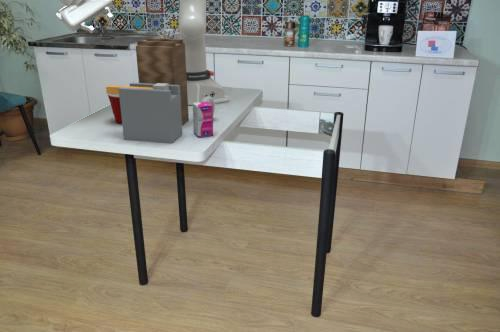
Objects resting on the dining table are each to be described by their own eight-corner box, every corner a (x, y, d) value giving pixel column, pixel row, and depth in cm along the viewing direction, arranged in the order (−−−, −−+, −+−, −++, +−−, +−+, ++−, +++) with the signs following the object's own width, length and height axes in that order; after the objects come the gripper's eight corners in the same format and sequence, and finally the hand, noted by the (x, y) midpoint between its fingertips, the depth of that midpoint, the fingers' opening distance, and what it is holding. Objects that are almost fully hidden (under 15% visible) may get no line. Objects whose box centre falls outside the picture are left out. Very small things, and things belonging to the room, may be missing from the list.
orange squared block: (105, 94, 166) (104, 82, 164) (111, 91, 169) (110, 80, 168) (164, 97, 161) (163, 86, 159) (169, 95, 164) (168, 83, 163)
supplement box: (198, 138, 168) (196, 106, 164) (193, 133, 173) (191, 102, 169) (213, 136, 170) (212, 104, 166) (208, 131, 176) (207, 100, 171)
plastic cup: (131, 126, 181) (128, 95, 177) (105, 125, 183) (101, 94, 178) (142, 118, 191) (139, 88, 187) (116, 117, 193) (113, 87, 188)
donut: (206, 125, 182) (205, 99, 178) (198, 124, 183) (196, 99, 179) (216, 118, 191) (215, 94, 187) (208, 117, 192) (207, 93, 188)
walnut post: (142, 126, 181) (135, 41, 169) (155, 118, 191) (149, 37, 179) (177, 129, 177) (172, 43, 166) (188, 120, 188) (184, 38, 176)
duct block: (123, 139, 167) (118, 88, 160) (136, 130, 176) (132, 82, 169) (172, 143, 163) (168, 91, 156) (182, 134, 172) (179, 85, 165)
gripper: (52, 8, 169) (81, 34, 169) (96, -20, 178) (123, 6, 178) (53, 18, 174) (81, 44, 174) (95, -8, 184) (122, 16, 184)
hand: (102, 24), depth 176 cm, fingers open, 8 cm apart
